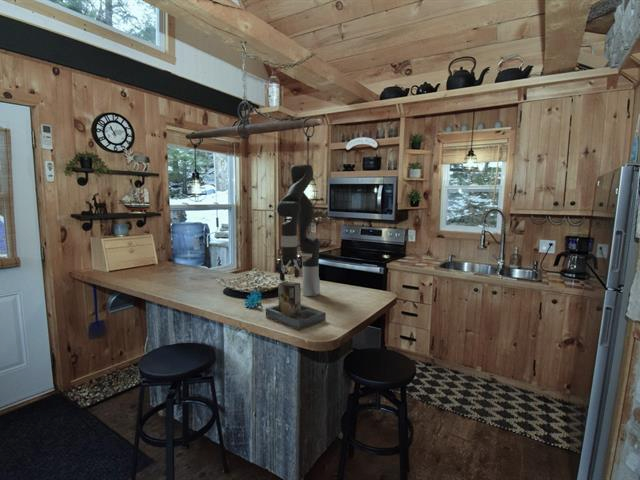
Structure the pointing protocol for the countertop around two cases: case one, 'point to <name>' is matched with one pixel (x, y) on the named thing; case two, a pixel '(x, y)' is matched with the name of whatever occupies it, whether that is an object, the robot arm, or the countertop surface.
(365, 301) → the countertop surface
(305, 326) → the gray rectangular frame
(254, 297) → the gear
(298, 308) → the coffee box
